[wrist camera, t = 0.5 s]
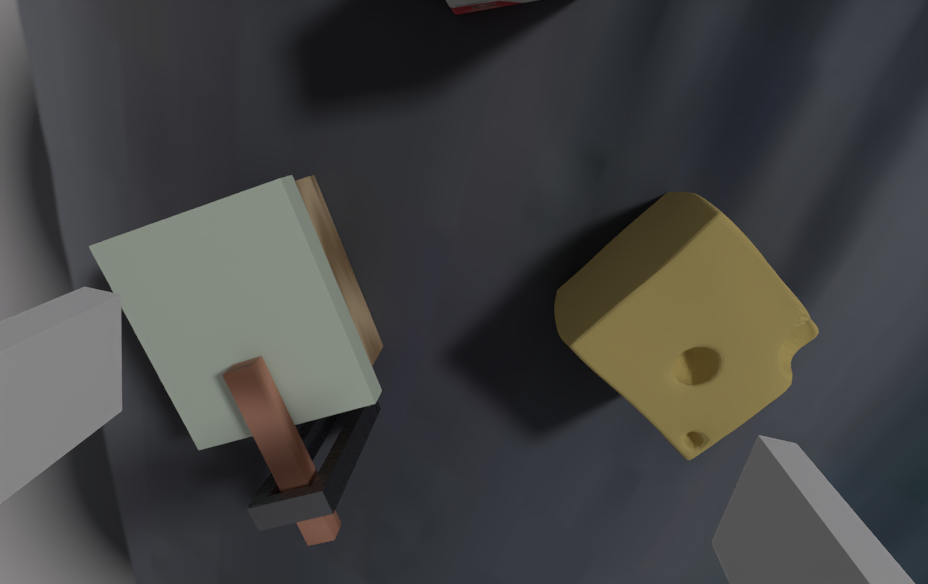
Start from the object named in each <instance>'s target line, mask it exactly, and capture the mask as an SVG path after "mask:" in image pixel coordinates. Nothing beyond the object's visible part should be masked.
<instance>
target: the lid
mask: <svg viewBox="0 0 928 584" xmlns="http://www.w3.org/2000/svg"><path fill="white" fill-rule="evenodd" d="M89 248H90V250H91V252H92V254H93V256H94V257H95V259H96V261H97V263H98V265H99V267H100V269H101V270H102V272H103V274H104V276H105V278H106V280H107V281H108V283H109V285H110V287H111V289H112V291H113V293H116V294H121V307H122V309H123V311H124V313H125V315H126V317H127V319H128V320H129V322H130V324H131V326H132V328H133V330H134V332H135V333H136V335H137V337H138V339H139V341H140V343H141V345H142V346H143V348H144V350H145V352H146V354H147V356H148V357H149V359H150V361H151V363H152V365H153V367H154V369H155V370H156V372H157V374H158V376H159V378H160V380H161V382H162V383H163V385H164V387H165V389H166V391H167V393H168V395H169V396H170V398H171V400H172V402H173V404H174V406H175V408H176V409H177V411H178V413H179V415H180V417H181V419H182V421H183V422H184V424H185V426H186V428H187V430H188V432H189V434H190V435H191V437H192V439H193V441H194V443H195V445H196V446H197V448H198V450H202V449H206V448H210V447H213V446H217V445H221V444H225V443H229V442H232V441H236V440H240V439H244V438H248V437H251V436H253V435H252V433H251V431H250V429H249V427H248V425H247V423H246V421H245V419H244V417H243V415H242V413H241V411H240V409H239V407H238V405H237V404H236V402H235V400H234V398H233V396H232V394H231V392H230V390H229V388H228V386H227V384H226V382H225V380H224V378H223V376H222V375H223V374H224V373H225V372H226V371H227V370H228V369H230V368H231V367H232V366H233V365H234V364H236V363H240V362H243V361H247V360H250V359H253V358H257V357H260V356H262V357H263V359H264V361H265V363H266V366H267V368H268V370H269V372H270V374H271V376H272V378H273V380H274V382H275V385H276V387H277V389H278V391H279V393H280V395H281V397H282V399H283V401H284V403H285V406H286V408H287V410H288V412H289V414H290V416H291V418H292V420H293V422H294V424H295V425H297V424H301V423H304V422H308V421H312V420H316V419H320V418H323V417H327V416H331V415H335V414H338V413H342V412H346V411H350V410H354V409H357V408H361V407H365V406H369V405H373V404H376V402H377V400H378V398H379V396H380V393H381V391H382V390H381V387H380V385H379V382H378V380H377V378H376V375H375V373H374V370H373V368H372V366H371V363H370V361H369V358H368V356H367V353H366V351H365V349H364V346H363V344H362V341H361V339H360V337H359V334H358V332H357V329H356V327H355V325H354V322H353V320H352V317H351V315H350V313H349V310H348V308H347V305H346V303H345V301H344V298H343V296H342V293H341V291H340V289H339V286H338V284H337V281H336V279H335V277H334V274H333V272H332V269H331V267H330V265H329V262H328V260H327V257H326V255H325V253H324V250H323V248H322V245H321V243H320V241H319V238H318V236H317V233H316V231H315V229H314V226H313V224H312V221H311V219H310V217H309V214H308V212H307V209H306V207H305V205H304V202H303V200H302V197H301V195H300V193H299V190H298V188H297V185H296V183H295V181H294V178H293V176H292V175H290V176H286V177H283V178H279V179H277V180H274V181H271V182H268V183H265V184H262V185H260V186H257V187H254V188H251V189H248V190H246V191H243V192H240V193H237V194H234V195H232V196H229V197H226V198H223V199H220V200H217V201H215V202H212V203H209V204H206V205H203V206H201V207H198V208H195V209H192V210H189V211H187V212H184V213H181V214H178V215H175V216H172V217H170V218H167V219H164V220H161V221H158V222H156V223H153V224H150V225H147V226H144V227H141V228H139V229H136V230H133V231H130V232H127V233H125V234H122V235H119V236H116V237H113V238H111V239H108V240H105V241H102V242H99V243H96V244H94V245H91V246H89Z"/></svg>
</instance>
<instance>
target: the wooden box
mask: <svg viewBox="0 0 928 584" xmlns="http://www.w3.org/2000/svg"><path fill="white" fill-rule="evenodd" d="M295 183H296V185H297V188H298V190H299V193H300V195H301V197H302V200H303V202H304V205H305V207H306V209H307V212H308V214H309V217H310V219H311V221H312V224H313V226H314V229H315V231H316V233H317V236H318V238H319V241H320V243H321V245H322V248H323V250H324V253H325V255H326V257H327V260H328V262H329V265H330V267H331V269H332V272H333V274H334V277H335V279H336V281H337V284H338V286H339V289H340V291H341V293H342V296H343V298H344V301H345V303H346V305H347V308H348V310H349V313H350V315H351V317H352V320H353V322H354V325H355V327H356V329H357V332H358V334H359V337H360V339H361V341H362V344H363V346H364V349H365V351H366V353H367V356H368V358H369V361H370V363H371V366H373V364H374V362H375V360H376V359H377V357H378V355H379V353H380V351H381V350H382V348H383V344H382V341H381V339H380V336H379V334H378V331H377V329H376V327H375V324H374V322H373V319H372V317H371V314H370V312H369V309H368V307H367V304H366V302H365V299H364V297H363V294H362V292H361V290H360V287H359V285H358V282H357V280H356V277H355V275H354V272H353V270H352V267H351V265H350V262H349V260H348V257H347V255H346V253H345V250H344V248H343V245H342V243H341V240H340V238H339V235H338V233H337V230H336V228H335V225H334V223H333V220H332V218H331V215H330V213H329V211H328V208H327V206H326V203H325V201H324V198H323V196H322V193H321V191H320V188H319V186H318V183H317V181H316V178H315V176H314V175H312V176H309V177H306V178H302V179H299V180H296V181H295Z"/></svg>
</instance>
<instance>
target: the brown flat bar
mask: <svg viewBox="0 0 928 584" xmlns="http://www.w3.org/2000/svg"><path fill="white" fill-rule="evenodd" d="M222 376H223V378H224V380H225V382H226V384H227V386H228V388H229V390H230V392H231V394H232V396H233V398H234V400H235V402H236V404H237V405H238V407H239V409H240V411H241V413H242V415H243V417H244V419H245V421H246V423H247V425H248V427H249V429H250V431H251V433H252V435H253V437H254V439H255V441H256V443H257V445H258V447H259V449H260V451H261V453H262V455H263V457H264V459H265V461H266V463H267V465H268V467H269V469H270V471H271V473H272V475H273V477H274V479H275V481H276V483H277V485H278V487H279V489H280V491H281V493H283V492H287V491H291V490H295V489H299V488H304V487H308V486H311V485H312V483H313V482H314V480H315V478H316V476H317V474H318V473H317V471H316V469H315V467H314V464H313V462H312V460H311V458H310V456H309V454H308V452H307V450H306V448H305V446H304V443H303V441H302V439H301V437H300V435H299V433H298V431H297V429H296V427H295V424H294V422H293V420H292V418H291V416H290V414H289V412H288V410H287V408H286V406H285V403H284V401H283V399H282V397H281V395H280V393H279V391H278V389H277V387H276V385H275V382H274V380H273V378H272V376H271V374H270V372H269V370H268V368H267V366H266V363H265V361H264V359H263V357H262V356H260V357H257V358H253V359H250V360H247V361H243V362H240V363H236V364H234V365H233V366H232V367H231V368H230V369H228V370H227V371H226V372H225V373H224V374H223V375H222ZM296 523H297V525H298V527H299V529H300V531H301V533H302V535H303V537H304V539H305V541H306V543H307V545H308V546H310V545H314V544H319V543H323V542H328V541H332V540H335V538H336V536H337V533H338V531H339V529H340V526H341V524H342V523H341V521H340V519H339V517H338V515H337V513H336V511H334V514H331V515H327V516H323V517H318V518H314V519H310V520H305V521H301V522H296Z"/></svg>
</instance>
